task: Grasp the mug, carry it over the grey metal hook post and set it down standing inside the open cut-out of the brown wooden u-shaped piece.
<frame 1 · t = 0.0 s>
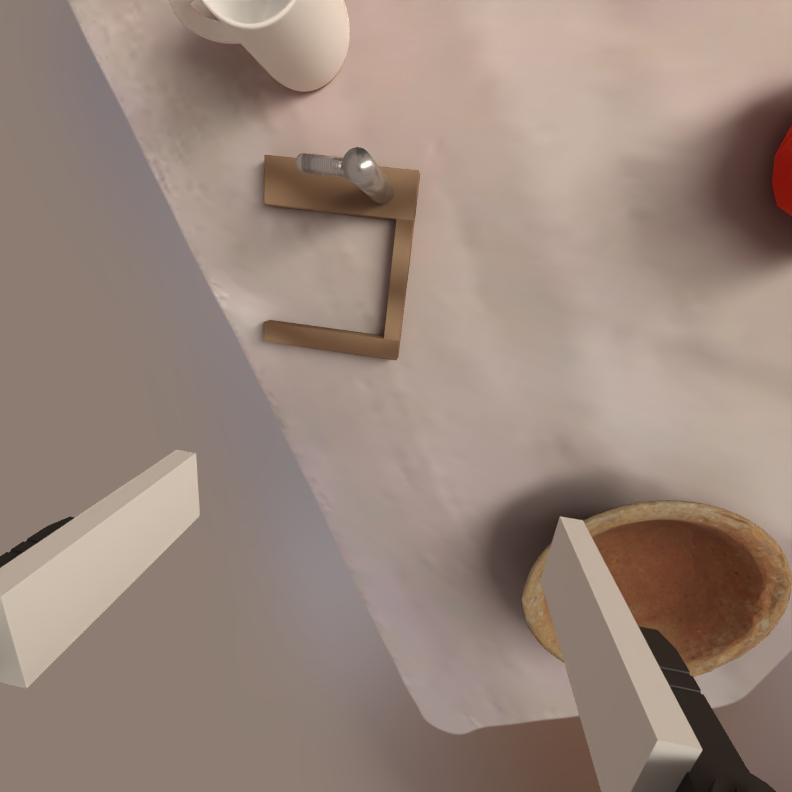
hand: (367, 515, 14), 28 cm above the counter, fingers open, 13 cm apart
brown wooden u-shaped piece: (338, 263, 39), on the counter
hook post: (385, 195, 36), resting on brown wooden u-shaped piece
bowl: (619, 551, 45), on the counter
mug: (285, 42, 34), on the counter
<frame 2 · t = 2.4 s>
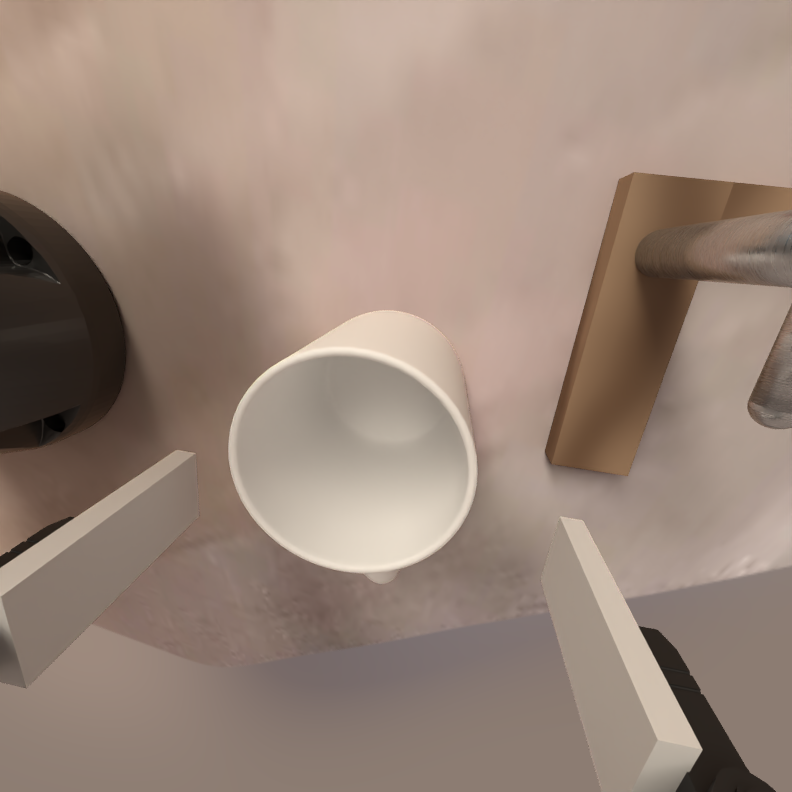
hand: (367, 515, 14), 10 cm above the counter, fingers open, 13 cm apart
brown wooden u-shaped piece: (751, 354, 20), on the counter
hook post: (643, 254, 19), resting on brown wooden u-shaped piece
mug: (393, 410, 23), on the counter
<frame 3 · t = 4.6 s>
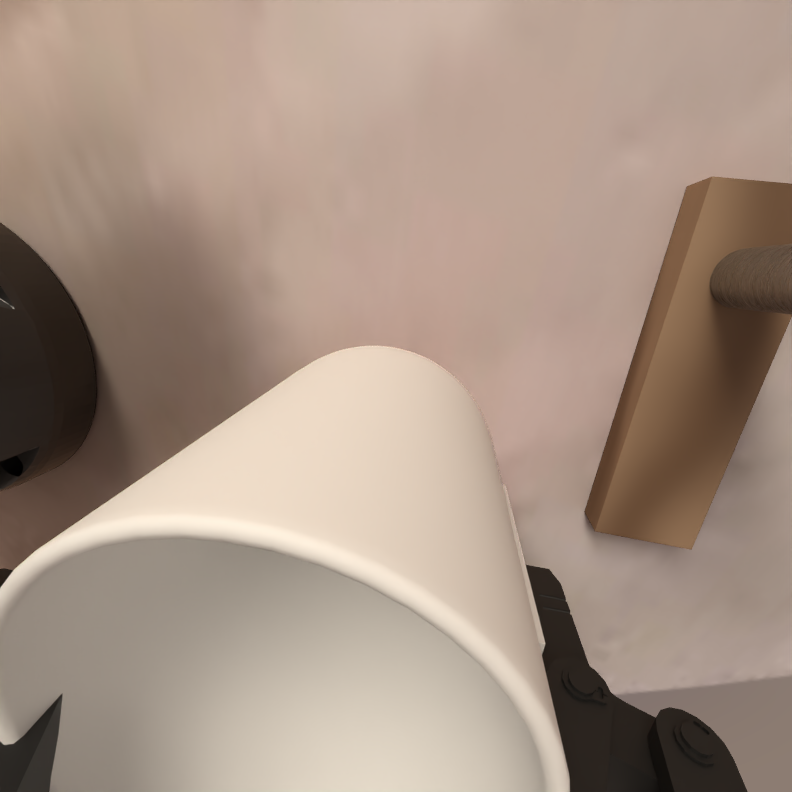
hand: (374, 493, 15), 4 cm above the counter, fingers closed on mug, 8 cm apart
hook post: (715, 278, 15), resting on brown wooden u-shaped piece
mug: (385, 486, 16), point 4 cm above the counter, touching gripper
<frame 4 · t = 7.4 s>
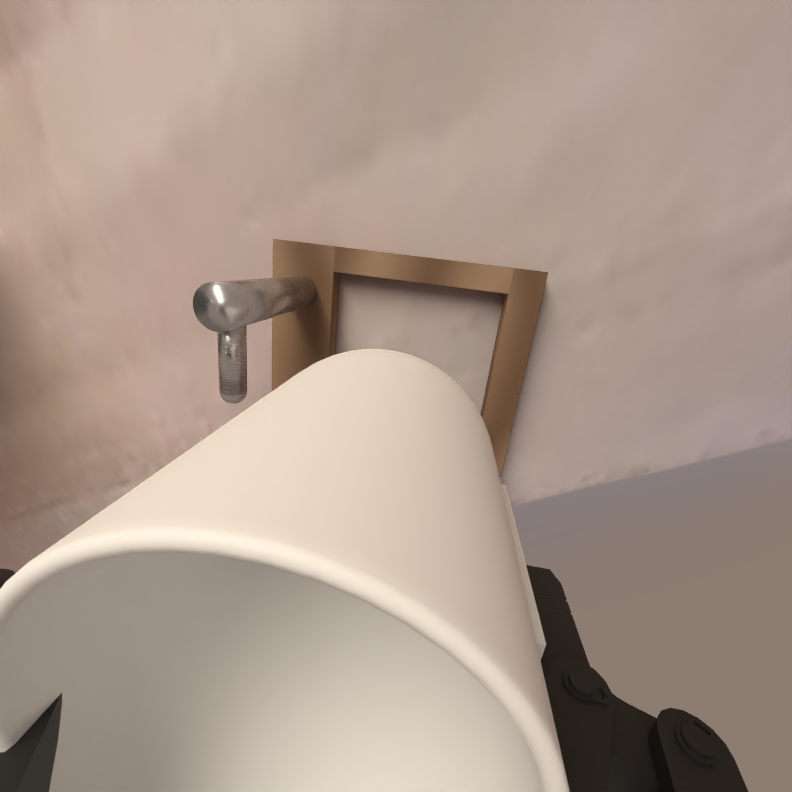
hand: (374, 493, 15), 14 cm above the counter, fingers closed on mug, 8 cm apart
brown wooden u-shaped piece: (396, 360, 28), on the counter
hook post: (309, 290, 27), resting on brown wooden u-shaped piece
mug: (385, 490, 16), point 13 cm above the counter, touching gripper
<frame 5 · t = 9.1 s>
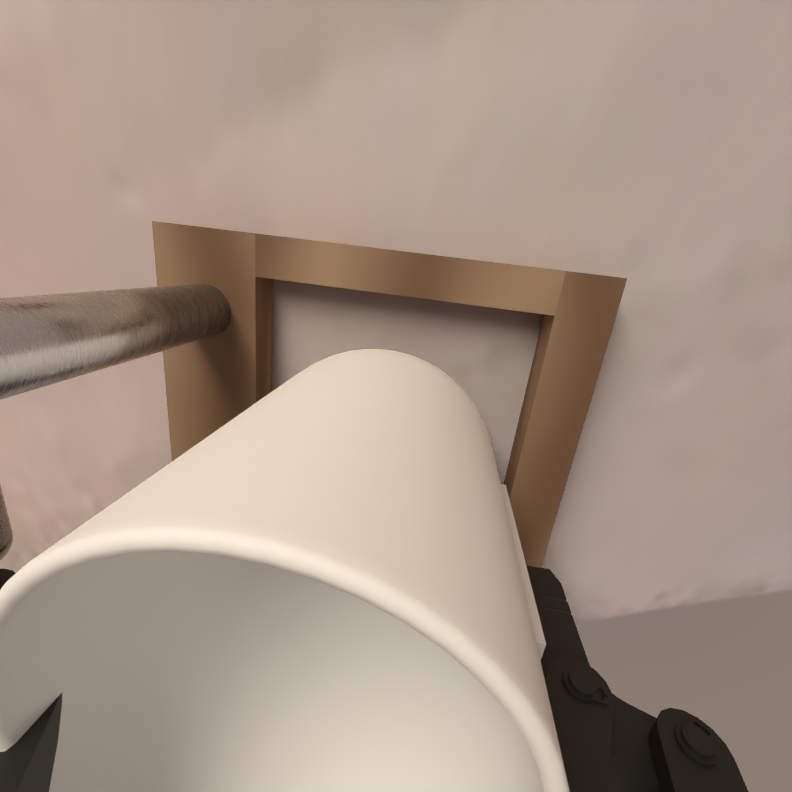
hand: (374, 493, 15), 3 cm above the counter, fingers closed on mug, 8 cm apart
brown wooden u-shaped piece: (367, 415, 17), on the counter
hook post: (227, 306, 17), resting on brown wooden u-shaped piece
mug: (385, 489, 16), point 2 cm above the counter, touching gripper
when the fingers open (2 cm above the counter, at t = 10.1 s): mug drops 2 cm, on the counter.
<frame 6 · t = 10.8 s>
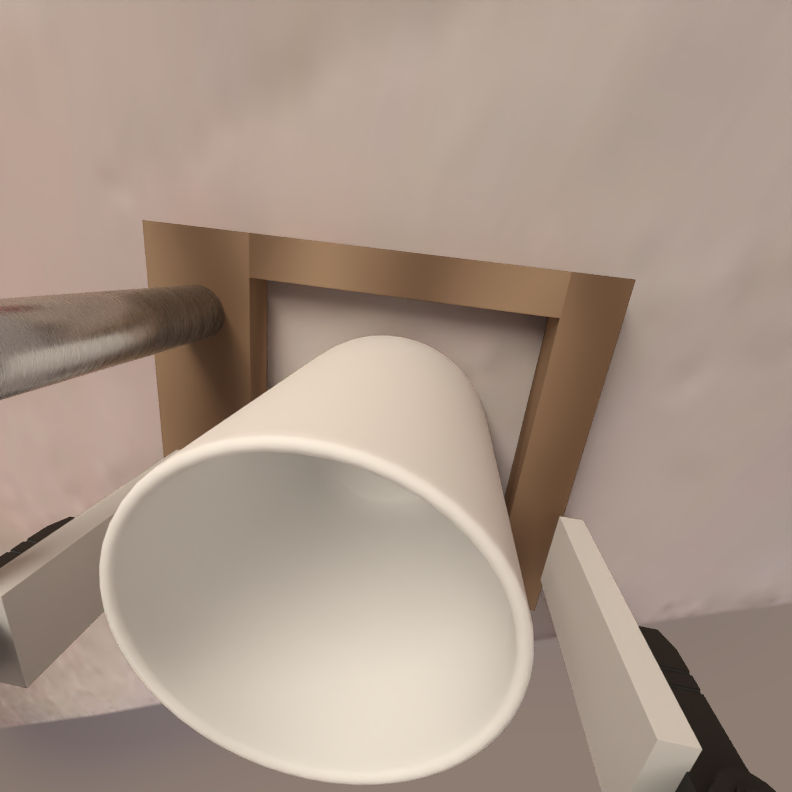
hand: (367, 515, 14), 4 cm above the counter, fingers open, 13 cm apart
brown wooden u-shaped piece: (365, 421, 17), on the counter
hook post: (221, 308, 16), resting on brown wooden u-shaped piece
mug: (392, 462, 18), on the counter
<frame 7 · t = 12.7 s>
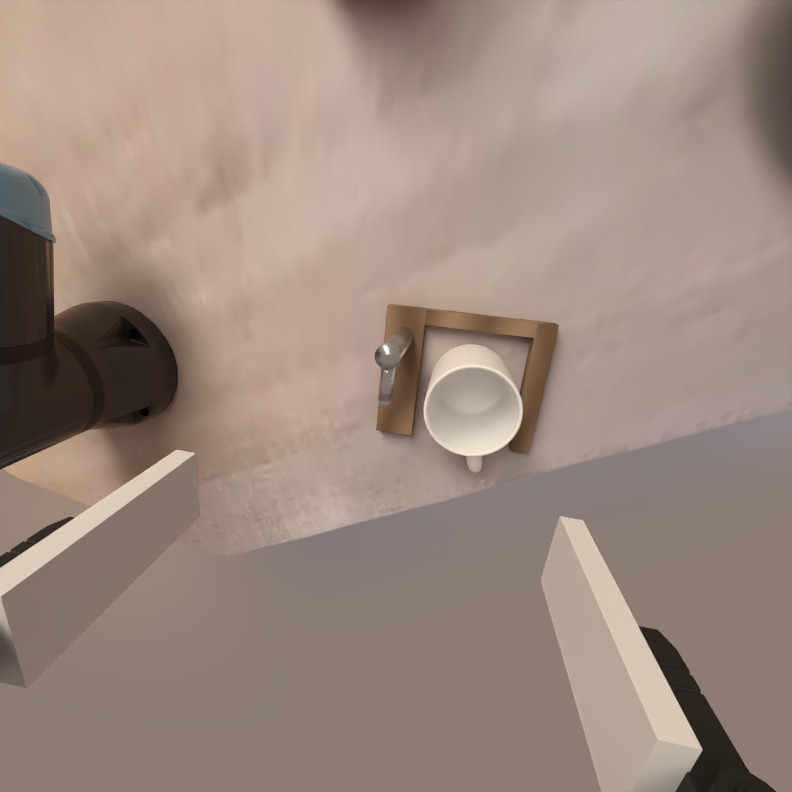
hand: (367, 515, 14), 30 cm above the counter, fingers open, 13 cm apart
brown wooden u-shaped piece: (460, 378, 43), on the counter
hook post: (405, 334, 42), resting on brown wooden u-shaped piece
mug: (470, 395, 43), on the counter
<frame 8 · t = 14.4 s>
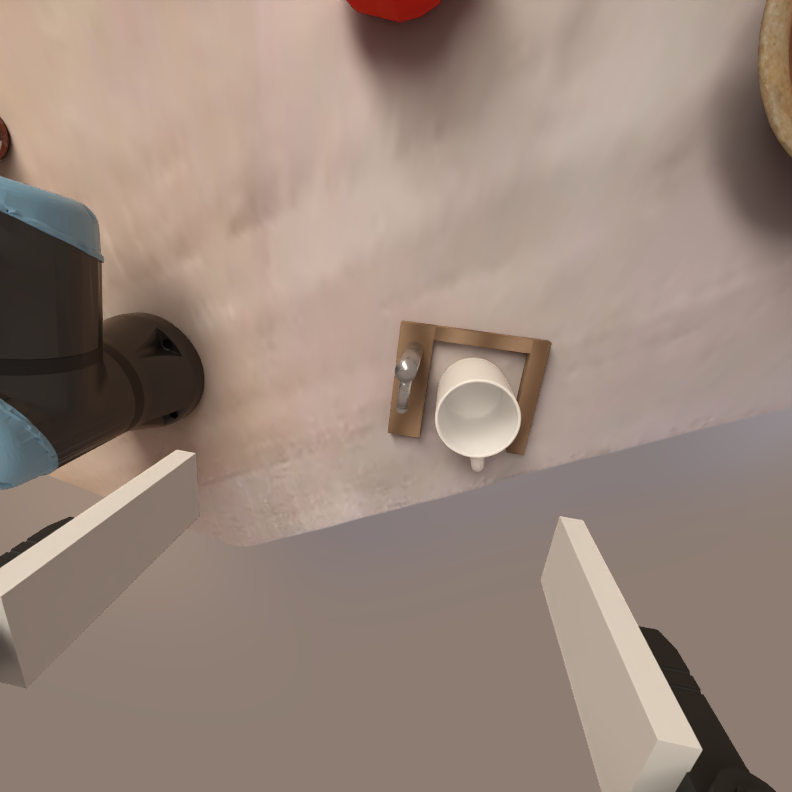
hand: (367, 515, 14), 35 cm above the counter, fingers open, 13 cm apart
brown wooden u-shaped piece: (463, 387, 48), on the counter
hook post: (415, 347, 47), resting on brown wooden u-shaped piece
mug: (472, 402, 49), on the counter
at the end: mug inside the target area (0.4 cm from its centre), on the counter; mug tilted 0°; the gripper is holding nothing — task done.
